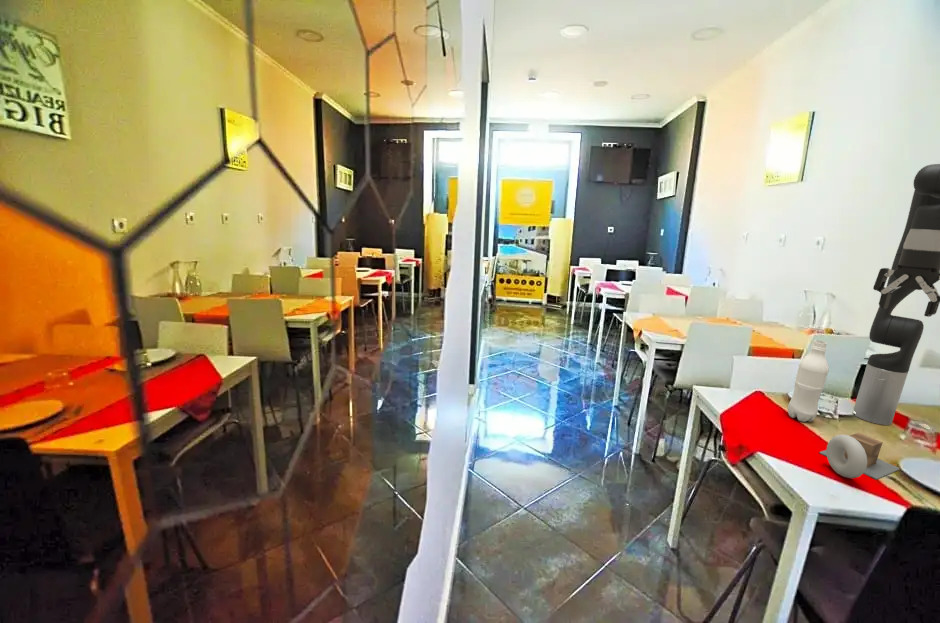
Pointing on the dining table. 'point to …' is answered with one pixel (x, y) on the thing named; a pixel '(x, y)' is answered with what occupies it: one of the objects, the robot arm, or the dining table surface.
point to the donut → (855, 456)
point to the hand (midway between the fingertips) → (904, 312)
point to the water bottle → (809, 383)
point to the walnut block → (868, 447)
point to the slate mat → (875, 468)
